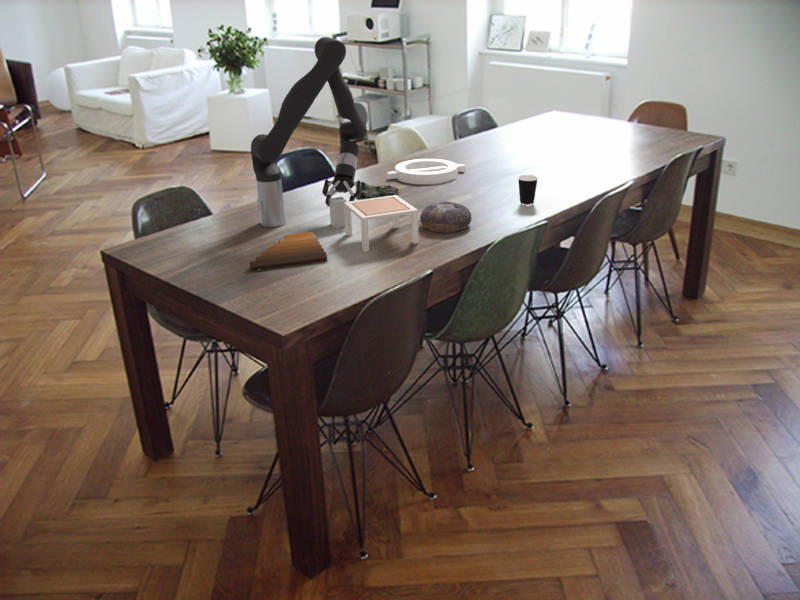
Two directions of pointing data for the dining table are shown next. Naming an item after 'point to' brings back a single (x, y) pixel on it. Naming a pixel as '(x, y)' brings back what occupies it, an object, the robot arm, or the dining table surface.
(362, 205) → the trapdoor
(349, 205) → the white four-legged frame
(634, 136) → the dining table surface
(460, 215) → the sea urchin shell
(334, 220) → the grey upright block
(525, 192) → the glass of dark beer
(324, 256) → the pan flute
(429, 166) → the ring with crossbar
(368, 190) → the decorative rock
